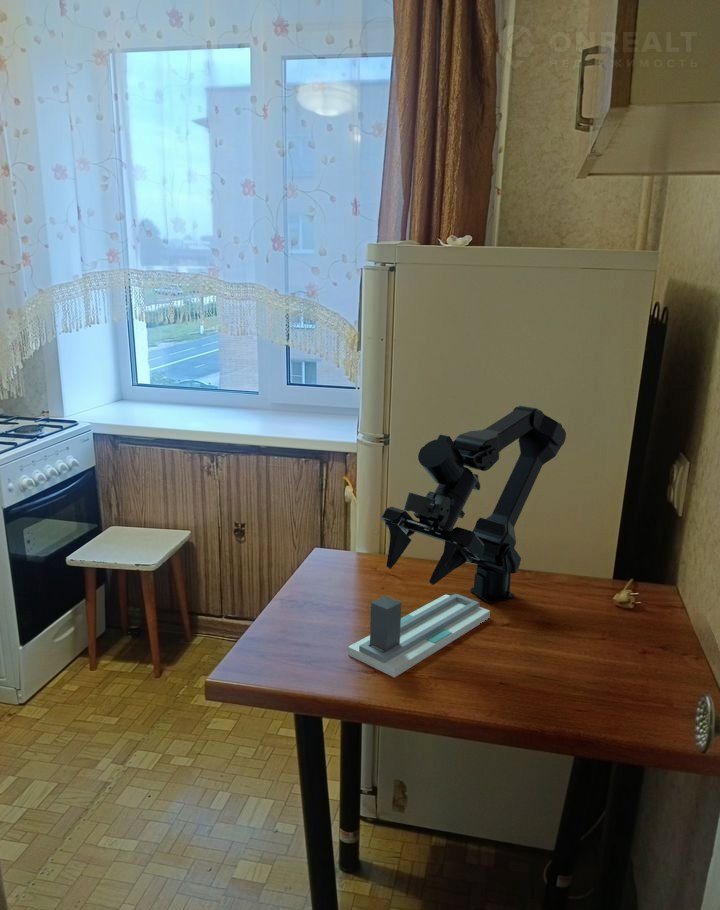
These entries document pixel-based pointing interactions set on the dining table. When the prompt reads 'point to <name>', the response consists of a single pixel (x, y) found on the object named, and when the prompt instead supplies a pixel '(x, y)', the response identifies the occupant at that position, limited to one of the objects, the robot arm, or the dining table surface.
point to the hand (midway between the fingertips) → (409, 575)
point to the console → (423, 633)
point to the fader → (385, 624)
